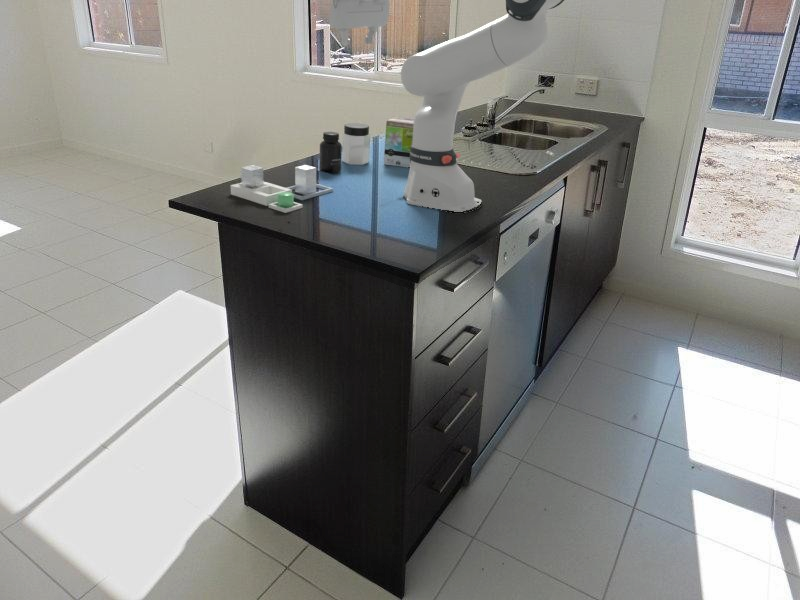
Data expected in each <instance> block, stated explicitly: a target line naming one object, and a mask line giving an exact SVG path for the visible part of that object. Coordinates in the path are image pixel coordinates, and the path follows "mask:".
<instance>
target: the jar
mask: <svg viewBox="0 0 800 600" xmlns="http://www.w3.org/2000/svg"><path fill="white" fill-rule="evenodd" d="M343 129H344V130H343V133H342V157H341V162H343V163H346V164H348V165H351V166H352V165H354V166H356V165H357V166H364V165H365V164H369V163H370V148H371V147H370V144H371V134H370V126H369V125H368V124H365V123H357V122H356V123H354V122H352V123H351V122H350V123H346V124H344V127H343Z"/></svg>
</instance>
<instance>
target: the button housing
mask: <svg viewBox="0 0 800 600" xmlns="http://www.w3.org/2000/svg"><path fill="white" fill-rule="evenodd" d="M303 207H304V206H303V204H302V203H299V202H295V201H294V206H292V207H289V208H283V207H280V206H278V202H275V203H271V204H269V205H268V208H269V209H273V210H275V211H278V212H282V213H285V214H286V213H290V212H294V211H296V210H301V209H303Z"/></svg>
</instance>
